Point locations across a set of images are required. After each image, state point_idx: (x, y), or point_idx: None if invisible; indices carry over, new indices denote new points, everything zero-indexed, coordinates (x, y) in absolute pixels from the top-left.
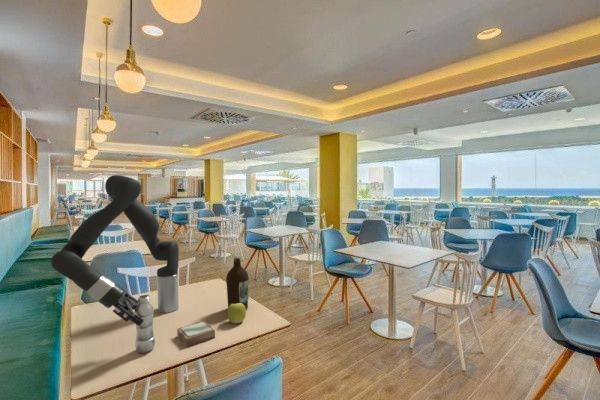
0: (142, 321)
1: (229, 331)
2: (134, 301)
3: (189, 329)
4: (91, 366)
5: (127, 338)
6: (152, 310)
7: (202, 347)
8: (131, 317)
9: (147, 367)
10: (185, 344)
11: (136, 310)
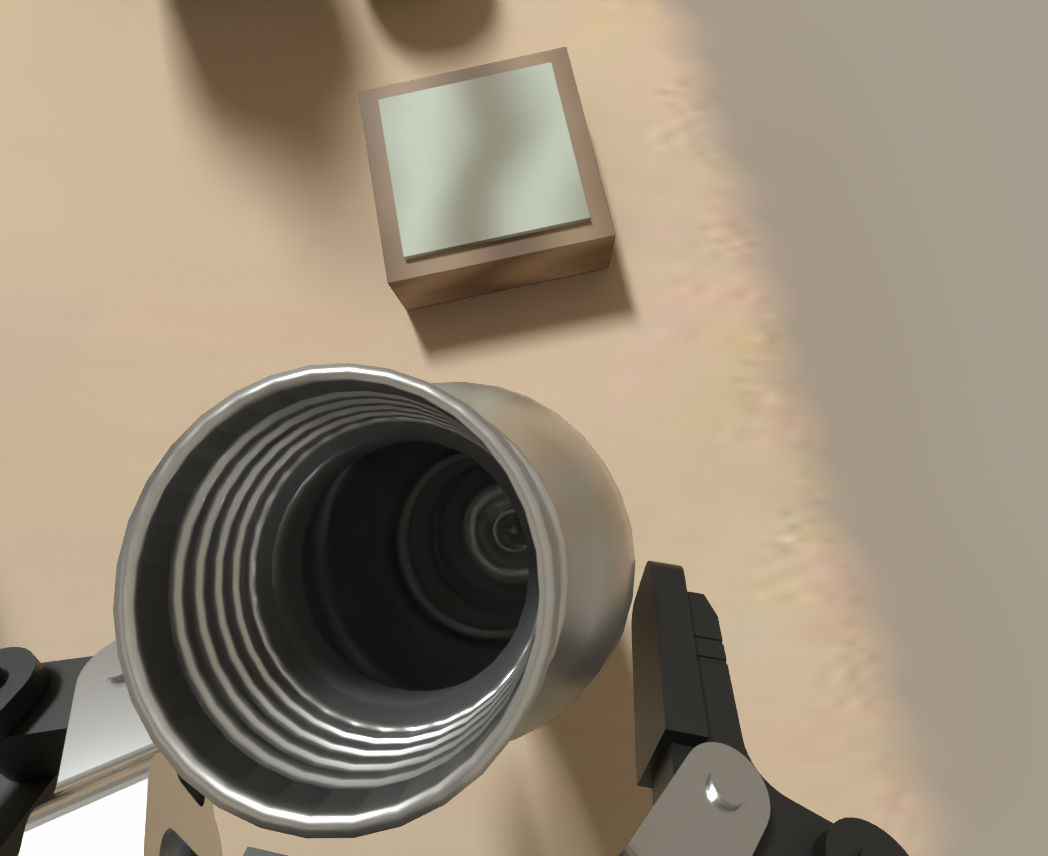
0: (677, 576)
1: (523, 9)
2: (99, 816)
3: (465, 199)
4: None
5: None
6: (537, 404)
7: (661, 183)
8: (811, 821)
9: (771, 527)
10: (575, 272)
11: (540, 720)
